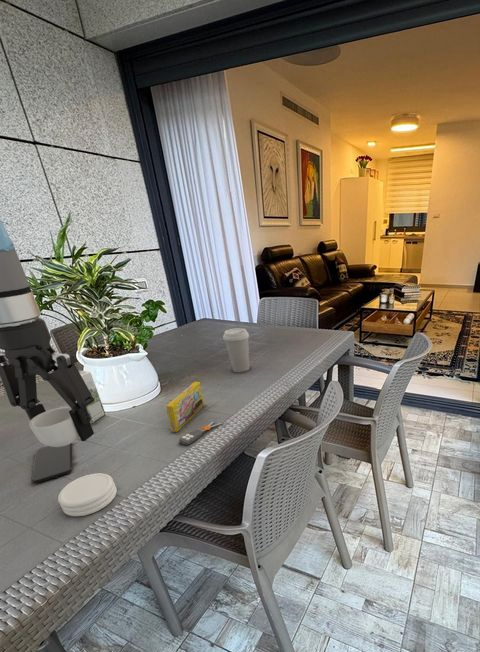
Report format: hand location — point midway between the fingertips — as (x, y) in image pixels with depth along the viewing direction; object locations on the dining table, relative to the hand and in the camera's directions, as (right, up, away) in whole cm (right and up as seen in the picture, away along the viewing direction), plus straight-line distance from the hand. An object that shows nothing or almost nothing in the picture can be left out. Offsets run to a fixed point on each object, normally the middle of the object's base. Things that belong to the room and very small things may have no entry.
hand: (68, 436), depth 69 cm
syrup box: (-19, +3, +37) cm, 41 cm away
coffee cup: (+19, +21, +67) cm, 73 cm away
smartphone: (-16, -8, +18) cm, 25 cm away
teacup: (0, 0, 0) cm, 0 cm away
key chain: (+17, -1, +27) cm, 32 cm away
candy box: (+11, +3, +35) cm, 37 cm away
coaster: (+1, -14, +5) cm, 15 cm away
